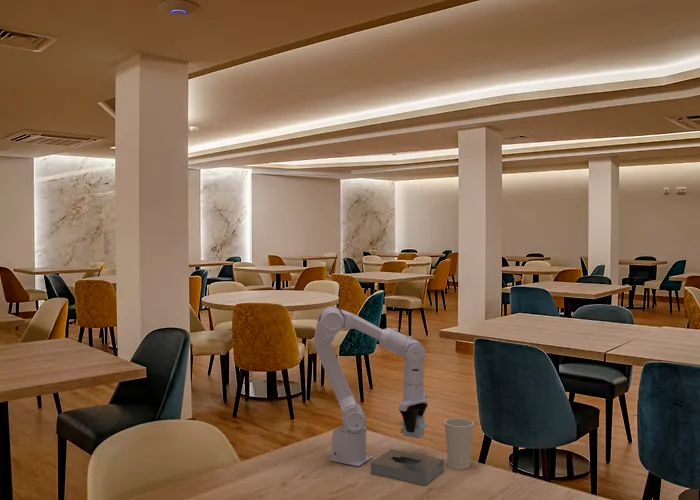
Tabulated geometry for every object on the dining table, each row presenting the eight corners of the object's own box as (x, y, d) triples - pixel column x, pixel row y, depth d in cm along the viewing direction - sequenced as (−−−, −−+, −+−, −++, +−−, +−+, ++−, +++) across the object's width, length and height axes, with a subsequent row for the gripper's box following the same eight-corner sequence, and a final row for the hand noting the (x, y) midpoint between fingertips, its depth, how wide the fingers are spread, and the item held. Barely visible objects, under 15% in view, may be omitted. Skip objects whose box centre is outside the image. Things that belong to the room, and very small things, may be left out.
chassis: (370, 473, 168) (370, 462, 168) (391, 459, 179) (391, 449, 179) (425, 485, 160) (425, 474, 160) (443, 470, 170) (443, 459, 170)
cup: (473, 471, 170) (473, 427, 169) (443, 469, 171) (443, 425, 171) (473, 460, 178) (473, 418, 177) (445, 458, 179) (445, 417, 179)
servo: (398, 434, 180) (398, 415, 180) (403, 431, 183) (404, 412, 183) (422, 439, 176) (423, 420, 176) (427, 436, 179) (428, 416, 179)
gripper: (415, 390, 171) (415, 439, 171) (436, 379, 183) (436, 425, 183) (392, 386, 174) (392, 435, 175) (414, 376, 187) (414, 421, 187)
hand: (413, 429), depth 179 cm, fingers closed on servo, 3 cm apart
